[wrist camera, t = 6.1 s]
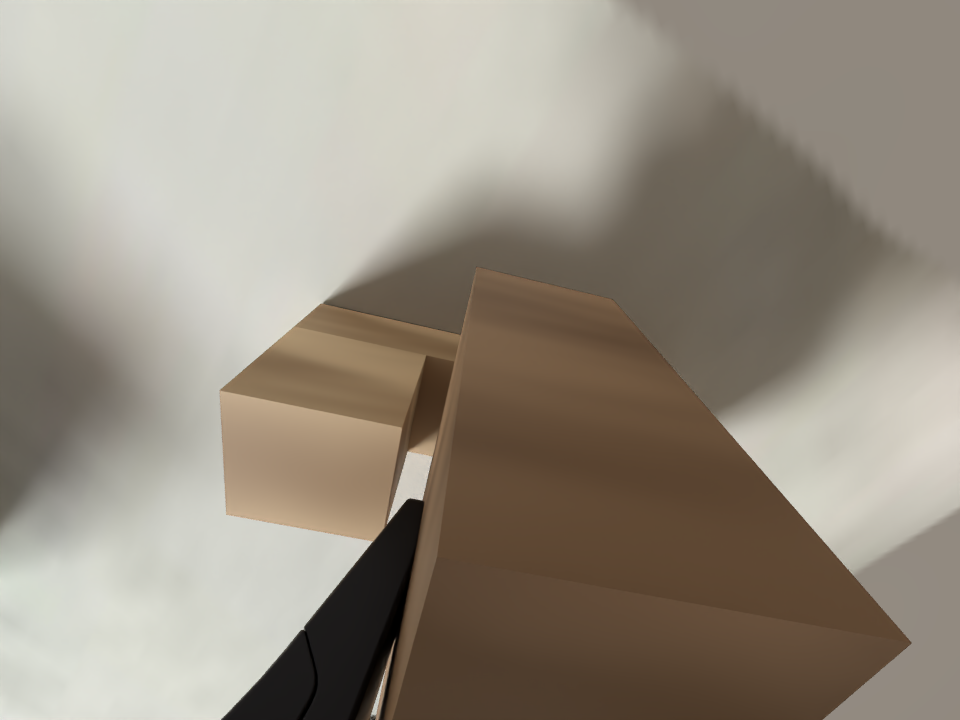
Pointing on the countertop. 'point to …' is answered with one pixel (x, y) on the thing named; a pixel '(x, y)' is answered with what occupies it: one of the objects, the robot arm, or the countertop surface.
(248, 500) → the u-shaped oak block
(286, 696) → the robot arm
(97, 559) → the countertop surface
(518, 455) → the tan wooden beam
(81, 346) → the countertop surface
